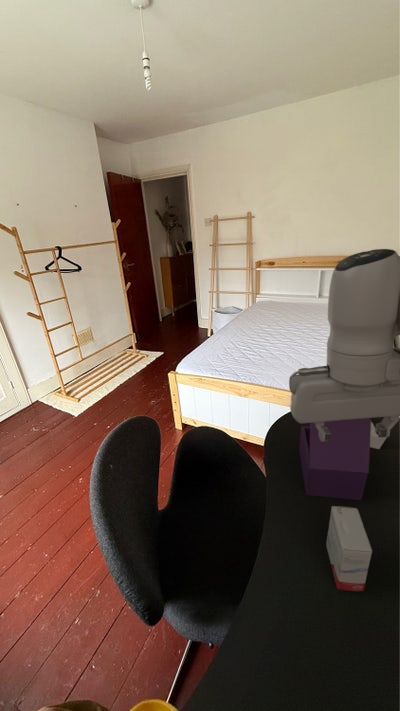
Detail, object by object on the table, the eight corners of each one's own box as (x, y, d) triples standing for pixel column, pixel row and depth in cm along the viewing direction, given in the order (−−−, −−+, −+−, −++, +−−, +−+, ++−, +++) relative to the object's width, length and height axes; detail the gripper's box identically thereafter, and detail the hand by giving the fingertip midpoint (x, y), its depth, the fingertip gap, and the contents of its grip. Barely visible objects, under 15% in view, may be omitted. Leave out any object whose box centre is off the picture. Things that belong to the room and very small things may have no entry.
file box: (299, 449, 87) (301, 426, 83) (345, 453, 85) (349, 428, 81) (306, 495, 73) (309, 468, 70) (361, 500, 71) (367, 473, 67)
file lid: (311, 398, 68) (314, 403, 64) (370, 400, 66) (379, 405, 61) (309, 466, 70) (312, 476, 65) (367, 471, 67) (375, 482, 63)
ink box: (364, 593, 54) (375, 554, 49) (334, 589, 55) (343, 550, 50) (349, 545, 62) (358, 507, 57) (324, 543, 63) (330, 504, 58)
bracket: (377, 451, 85) (390, 431, 82) (353, 445, 86) (364, 425, 82) (362, 423, 97) (373, 404, 93) (341, 417, 97) (350, 399, 94)
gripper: (293, 378, 44) (295, 454, 49) (442, 364, 42) (428, 444, 47) (284, 361, 49) (286, 430, 54) (414, 348, 48) (404, 421, 52)
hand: (353, 437), depth 50 cm, fingers open, 8 cm apart
